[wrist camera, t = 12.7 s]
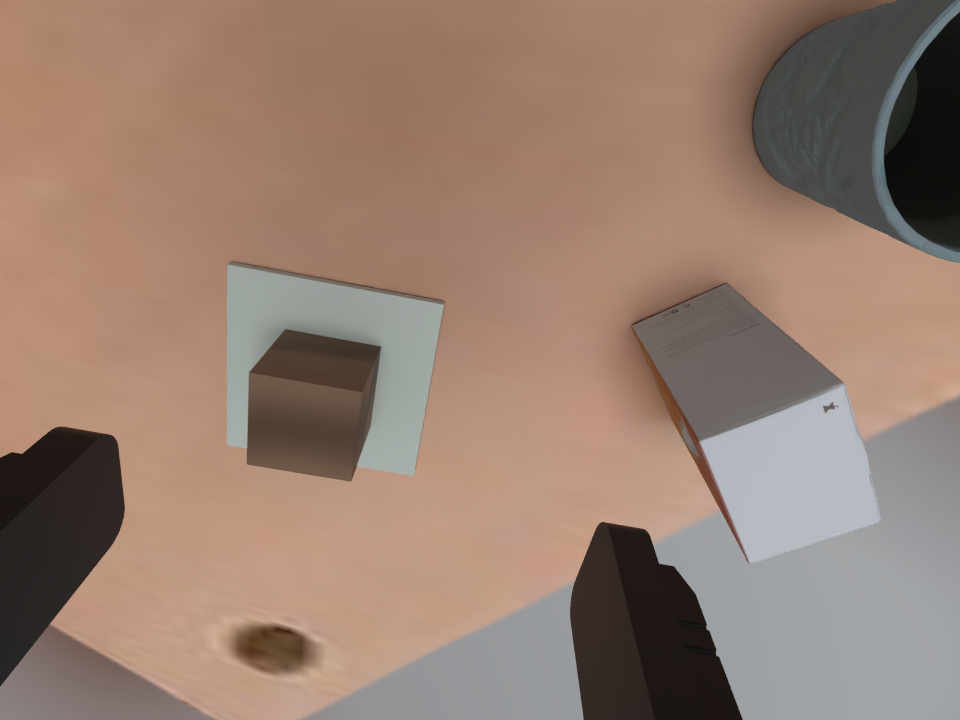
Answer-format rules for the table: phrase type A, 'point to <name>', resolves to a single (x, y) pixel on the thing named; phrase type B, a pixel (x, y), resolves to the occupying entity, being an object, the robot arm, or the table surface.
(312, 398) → the cube
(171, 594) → the table surface
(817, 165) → the grey cup
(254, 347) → the pad
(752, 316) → the small box
